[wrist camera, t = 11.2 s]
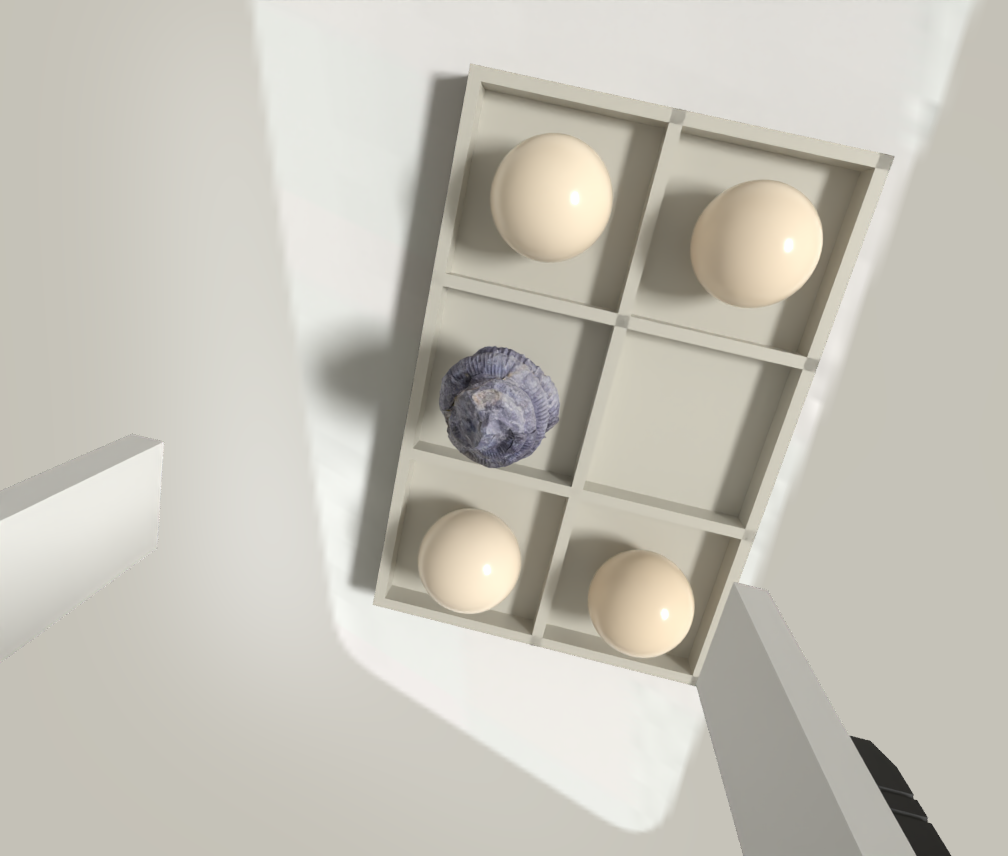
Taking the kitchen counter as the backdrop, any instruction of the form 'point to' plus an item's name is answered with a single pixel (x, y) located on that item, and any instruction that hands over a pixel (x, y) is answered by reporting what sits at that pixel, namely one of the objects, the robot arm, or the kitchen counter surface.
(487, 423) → the seashell
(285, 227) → the kitchen counter surface
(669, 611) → the egg far right
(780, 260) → the egg near right
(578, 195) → the egg near left
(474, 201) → the egg tray
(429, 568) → the egg far left
